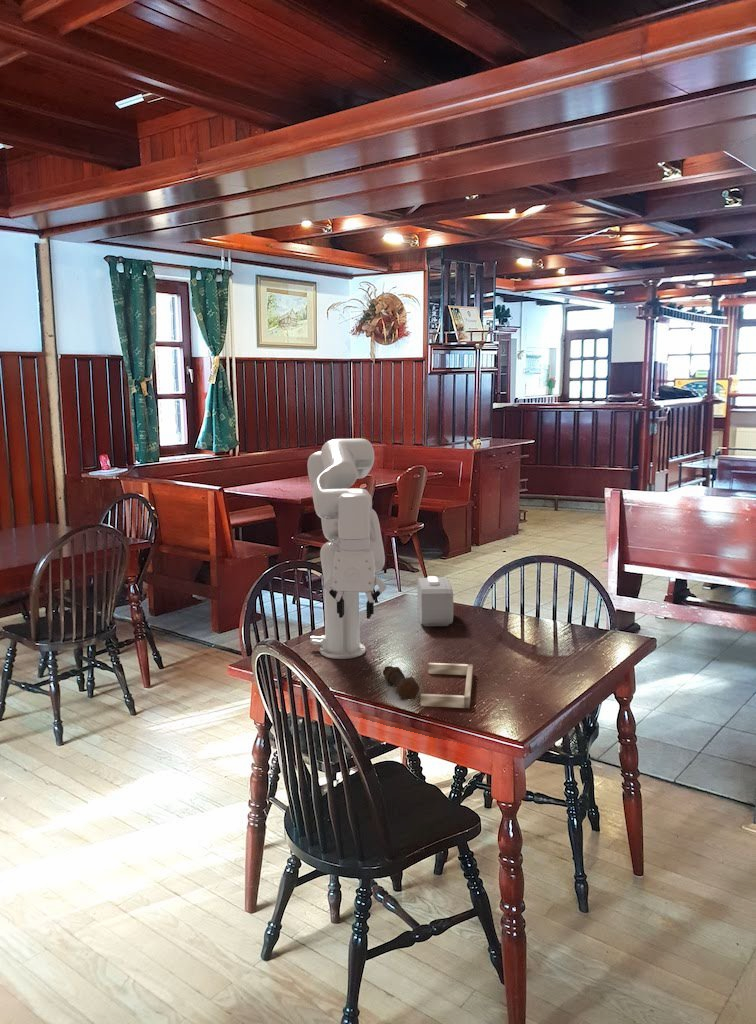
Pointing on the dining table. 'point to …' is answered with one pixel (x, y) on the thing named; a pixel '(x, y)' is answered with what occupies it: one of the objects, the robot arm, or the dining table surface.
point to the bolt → (401, 683)
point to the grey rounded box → (435, 601)
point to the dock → (449, 700)
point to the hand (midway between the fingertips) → (355, 616)
